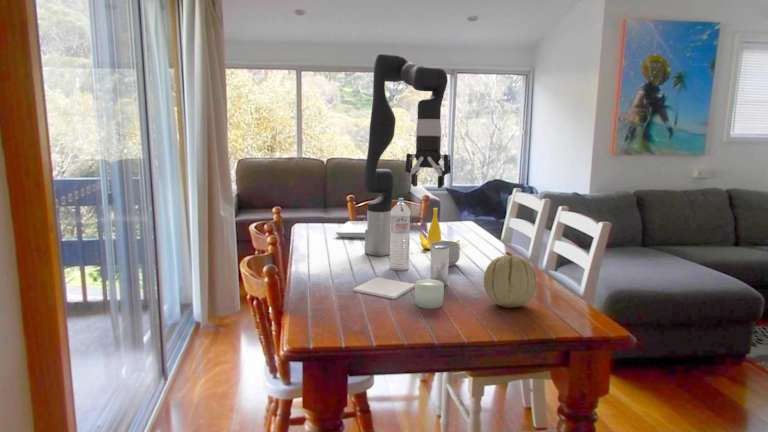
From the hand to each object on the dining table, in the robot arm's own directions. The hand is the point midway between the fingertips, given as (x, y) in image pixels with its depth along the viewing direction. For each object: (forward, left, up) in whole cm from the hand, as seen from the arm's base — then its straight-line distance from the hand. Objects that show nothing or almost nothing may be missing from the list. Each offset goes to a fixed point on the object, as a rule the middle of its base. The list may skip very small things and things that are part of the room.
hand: (427, 187), depth 159 cm
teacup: (-4, +26, -31) cm, 40 cm away
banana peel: (-16, +50, -31) cm, 61 cm away
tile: (-8, -12, -31) cm, 34 cm away
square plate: (-54, +57, -32) cm, 84 cm away
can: (+4, +2, -31) cm, 31 cm away
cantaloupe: (+29, -7, -31) cm, 44 cm away
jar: (+9, -17, -31) cm, 37 cm away
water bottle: (-15, +11, -31) cm, 36 cm away
